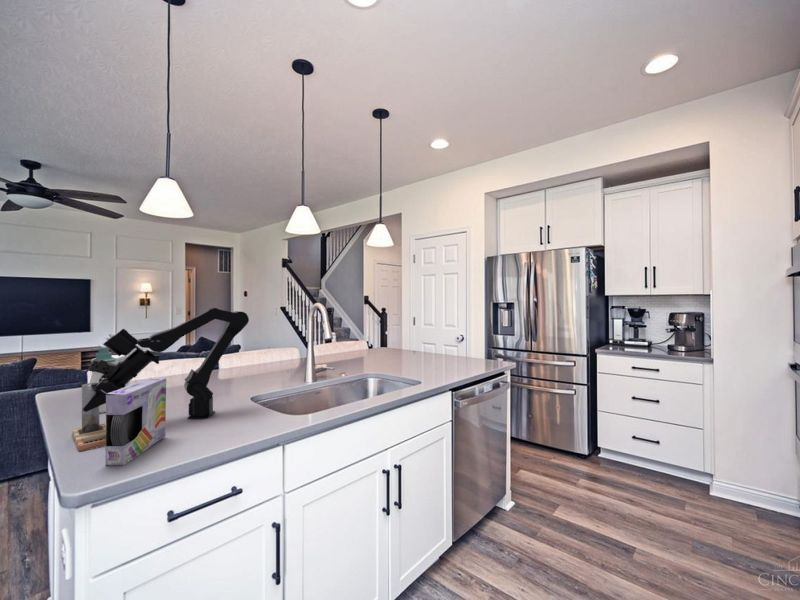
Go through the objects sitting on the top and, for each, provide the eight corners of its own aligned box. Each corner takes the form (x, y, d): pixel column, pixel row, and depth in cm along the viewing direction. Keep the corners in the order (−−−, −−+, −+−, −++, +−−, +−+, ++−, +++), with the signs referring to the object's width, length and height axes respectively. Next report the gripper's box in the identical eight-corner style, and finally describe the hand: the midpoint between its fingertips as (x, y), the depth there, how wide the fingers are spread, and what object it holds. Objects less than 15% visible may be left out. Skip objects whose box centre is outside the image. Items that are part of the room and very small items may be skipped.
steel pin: (102, 432, 110) (102, 382, 110) (93, 437, 106) (93, 385, 106) (88, 432, 109) (88, 382, 109) (78, 437, 105) (78, 386, 105)
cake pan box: (122, 467, 86) (122, 393, 86) (99, 468, 85) (99, 393, 86) (167, 437, 105) (167, 376, 105) (149, 438, 105) (149, 377, 105)
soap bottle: (80, 412, 130) (79, 348, 130) (110, 405, 139) (110, 345, 139) (96, 415, 126) (96, 350, 126) (126, 407, 135) (126, 346, 135)
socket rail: (114, 443, 100) (114, 438, 101) (78, 451, 95) (78, 446, 95) (104, 428, 113) (104, 423, 113) (72, 434, 108) (72, 429, 108)
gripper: (110, 346, 118) (64, 384, 111) (107, 352, 103) (53, 397, 96) (140, 367, 122) (97, 406, 116) (141, 376, 107) (92, 421, 101)
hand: (85, 407), depth 107 cm, fingers open, 9 cm apart
